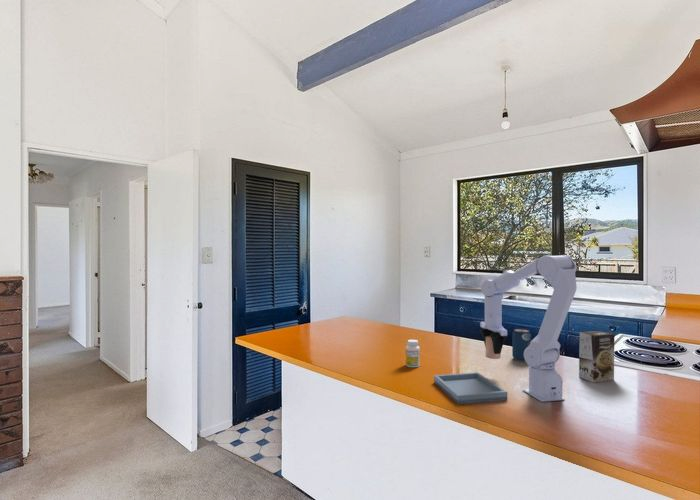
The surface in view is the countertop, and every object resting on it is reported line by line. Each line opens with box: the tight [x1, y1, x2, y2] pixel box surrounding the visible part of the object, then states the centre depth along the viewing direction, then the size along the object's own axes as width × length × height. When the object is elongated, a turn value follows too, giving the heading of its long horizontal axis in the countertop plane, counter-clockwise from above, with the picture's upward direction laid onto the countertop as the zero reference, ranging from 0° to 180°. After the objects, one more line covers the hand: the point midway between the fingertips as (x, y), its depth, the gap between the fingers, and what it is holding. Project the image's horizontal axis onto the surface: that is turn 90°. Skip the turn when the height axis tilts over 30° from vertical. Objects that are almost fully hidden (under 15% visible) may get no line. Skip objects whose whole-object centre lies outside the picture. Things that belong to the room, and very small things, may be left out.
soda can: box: [511, 328, 532, 363], centre depth 157 cm, size 7×7×12 cm
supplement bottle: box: [405, 339, 421, 368], centre depth 150 cm, size 5×5×10 cm
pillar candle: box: [485, 336, 502, 360], centre depth 138 cm, size 5×5×7 cm
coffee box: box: [578, 330, 615, 384], centre depth 135 cm, size 9×6×16 cm
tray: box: [433, 371, 508, 405], centre depth 124 cm, size 18×16×2 cm
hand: (493, 351), depth 138 cm, fingers closed on pillar candle, 5 cm apart
